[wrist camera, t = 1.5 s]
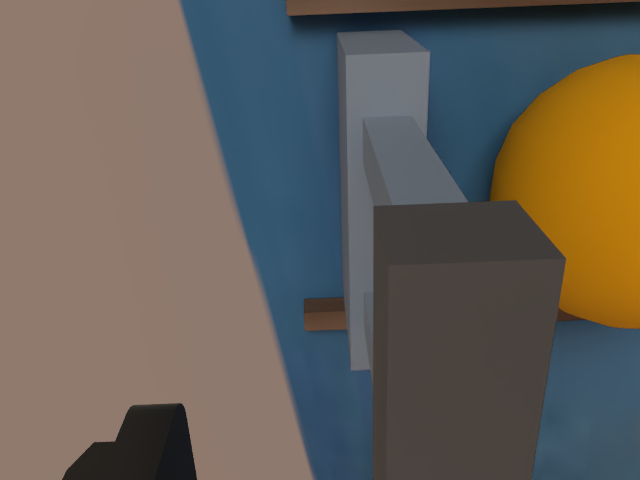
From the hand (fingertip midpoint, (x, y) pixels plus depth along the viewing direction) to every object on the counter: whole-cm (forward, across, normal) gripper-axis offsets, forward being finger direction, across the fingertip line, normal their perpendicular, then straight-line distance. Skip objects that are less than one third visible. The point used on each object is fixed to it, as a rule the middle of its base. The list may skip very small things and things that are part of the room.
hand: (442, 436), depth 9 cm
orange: (+13, -8, 0) cm, 15 cm away
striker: (+13, 0, 0) cm, 13 cm away
